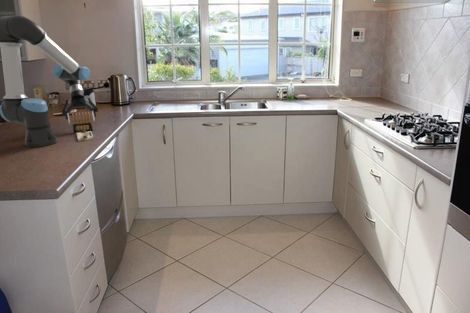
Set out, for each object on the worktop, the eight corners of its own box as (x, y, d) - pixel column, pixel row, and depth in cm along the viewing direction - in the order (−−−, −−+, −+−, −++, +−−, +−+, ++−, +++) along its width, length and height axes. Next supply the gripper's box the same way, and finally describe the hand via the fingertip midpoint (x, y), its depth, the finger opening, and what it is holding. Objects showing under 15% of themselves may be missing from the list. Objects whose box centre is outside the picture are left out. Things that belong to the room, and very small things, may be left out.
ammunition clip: (92, 130, 232) (90, 110, 228) (92, 131, 230) (90, 111, 227) (73, 132, 229) (70, 112, 225) (73, 132, 227) (70, 112, 223)
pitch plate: (78, 141, 207) (77, 137, 206) (76, 134, 222) (76, 131, 221) (93, 139, 210) (93, 135, 209) (91, 133, 225) (90, 129, 224)
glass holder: (92, 108, 310) (90, 90, 306) (77, 108, 314) (74, 90, 309) (98, 106, 319) (96, 88, 314) (83, 106, 322) (81, 88, 318)
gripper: (98, 95, 242) (104, 123, 233) (55, 99, 233) (59, 128, 224) (98, 88, 236) (104, 116, 227) (53, 91, 227) (58, 120, 218)
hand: (82, 122), depth 226 cm, fingers open, 13 cm apart
